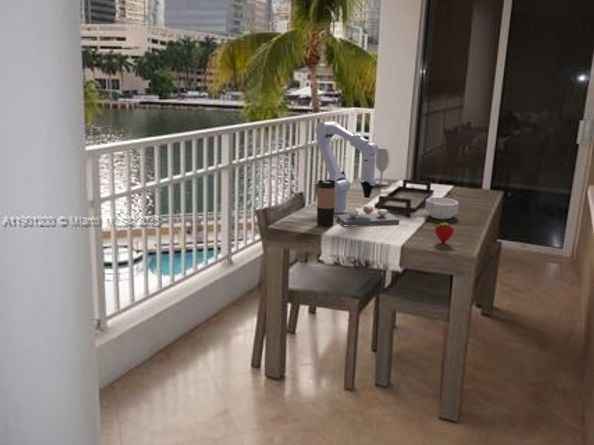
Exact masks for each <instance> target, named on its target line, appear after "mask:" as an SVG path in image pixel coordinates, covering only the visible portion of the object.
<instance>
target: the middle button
mask: <svg viewBox="0 0 594 445" xmlns="http://www.w3.org/2000/svg"><path fill="white" fill-rule="evenodd" d="M362 211H363V212H365V213H364V214H372V213H373V212H374V207H373V206H368V205H367V206H363V210H362Z"/></svg>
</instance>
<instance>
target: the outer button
mask: <svg viewBox="0 0 594 445" xmlns="http://www.w3.org/2000/svg"><path fill="white" fill-rule="evenodd" d="M377 213H378V214H379V215H380V216H381V217H385V215H387V213H388V209H383V208H380V209H378V210H377Z"/></svg>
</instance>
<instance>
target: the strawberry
mask: <svg viewBox="0 0 594 445" xmlns="http://www.w3.org/2000/svg"><path fill="white" fill-rule="evenodd" d="M451 225H452V224H451V223H448V222H445V220H443V221H442V222H439V224H437V225H436V226H435V228H434V231H435V232H434V233H435V235H436V236H437V238H438V239H439V241H440V242H441V243H443V244H445V243H446V242H447V241H448V240H449V239H450V238H451V237H452V236H453V234H454V228H453V227H452V226H451Z"/></svg>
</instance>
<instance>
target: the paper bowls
mask: <svg viewBox="0 0 594 445" xmlns="http://www.w3.org/2000/svg"><path fill="white" fill-rule="evenodd" d="M459 204H460V203H459V201H458V200H456V199H453V198H447V197H434V196H433V197H428V198H426V199H425V207H424V208H425V209H424V210H425V211H426V212H428V214H429V216H430V217H432V218H433V219H438V220H448V219H451V218H452V217H454V215H455V214H457V213H458V212H459Z"/></svg>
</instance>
